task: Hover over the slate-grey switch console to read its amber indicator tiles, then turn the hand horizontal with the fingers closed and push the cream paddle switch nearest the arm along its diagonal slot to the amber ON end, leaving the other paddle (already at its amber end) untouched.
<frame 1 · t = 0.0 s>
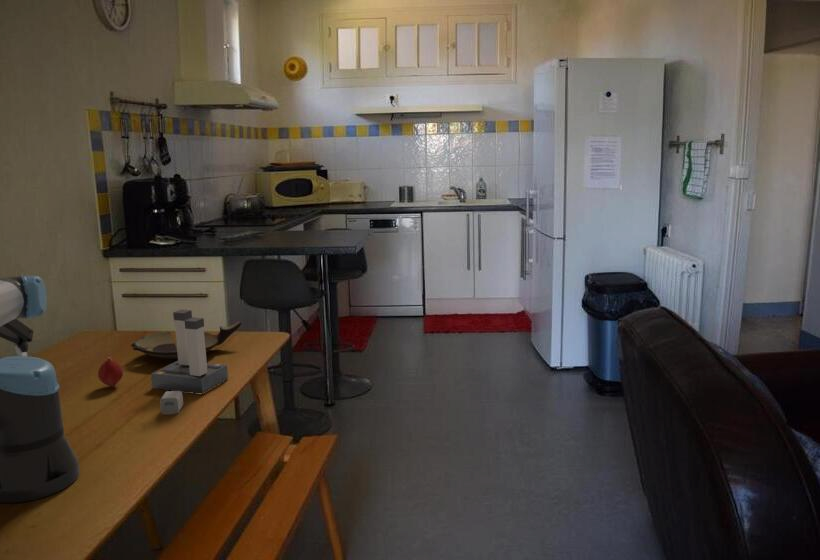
near paddle: (196, 346, 167), point 11 cm above the table, slide at 0.0 cm
far paddle: (184, 337, 175), point 11 cm above the table, slide at 8.0 cm
onion: (112, 387, 172), on the table
broken bowl: (188, 356, 197), on the table
console: (190, 384, 173), on the table
usb wall charger: (174, 409, 158), on the table
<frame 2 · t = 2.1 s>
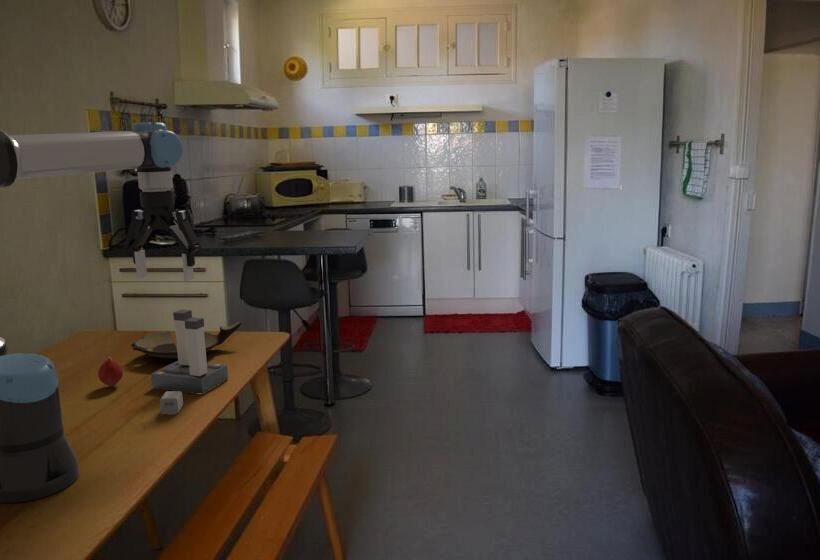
hand: (165, 278, 162), 29 cm above the table, tool pointing down, fingers open, 13 cm apart
nothing on the table moved.
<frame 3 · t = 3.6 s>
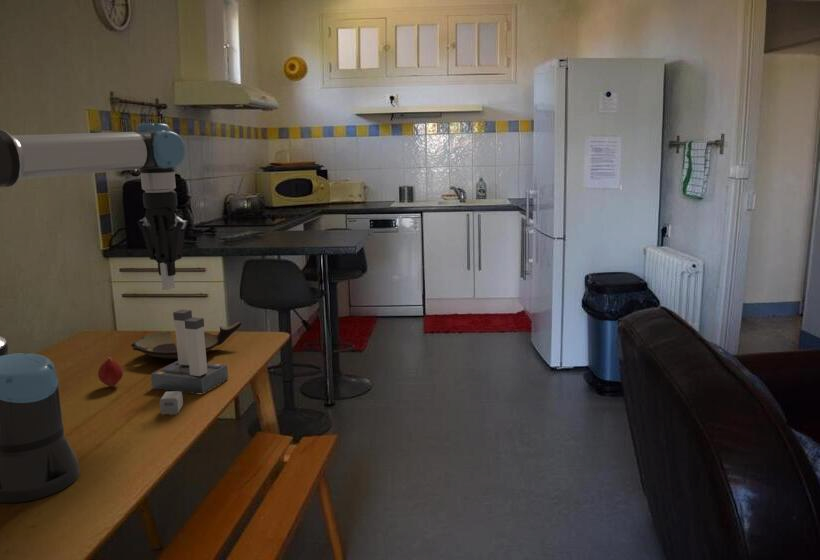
hand: (168, 288, 163), 26 cm above the table, tool pointing down, fingers closed
nothing on the table moved.
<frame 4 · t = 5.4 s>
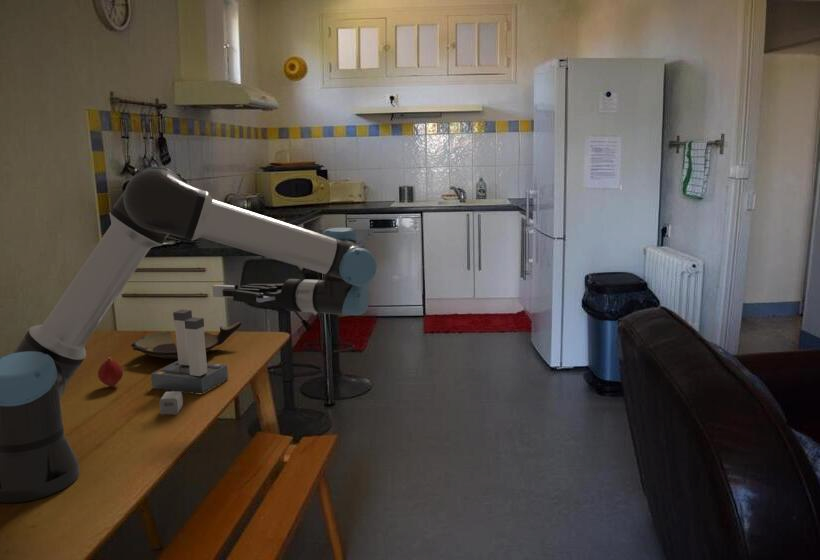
hand: (214, 290, 161), 26 cm above the table, tool horizontal, fingers closed
nothing on the table moved.
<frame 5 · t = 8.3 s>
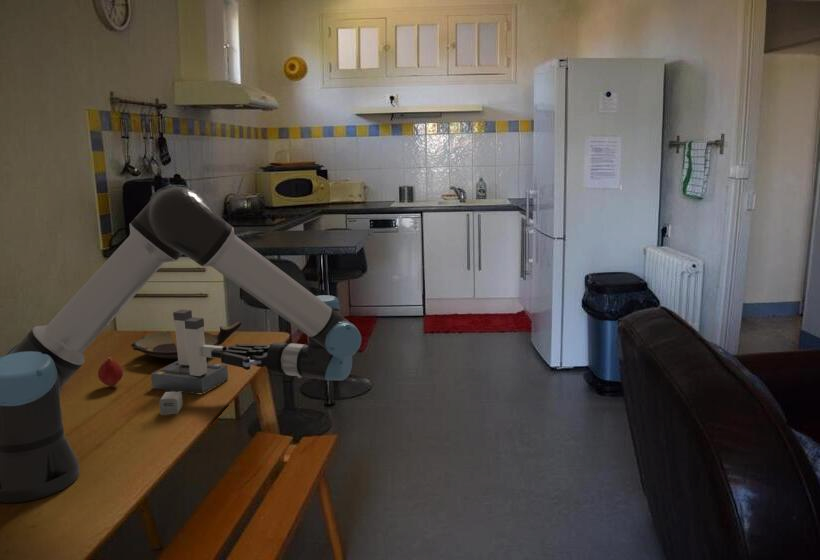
hand: (203, 350, 167), 10 cm above the table, tool horizontal, fingers closed
near paddle: (196, 346, 167), point 11 cm above the table, slide at 0.0 cm, touching gripper
everything else where it was.
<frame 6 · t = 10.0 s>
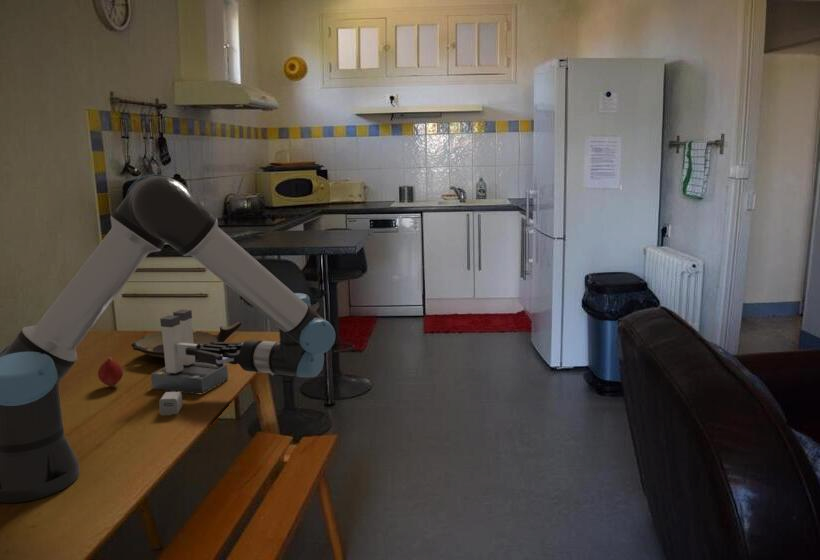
hand: (178, 348, 168), 10 cm above the table, tool horizontal, fingers closed
near paddle: (172, 344, 169), point 11 cm above the table, slide at 7.2 cm, touching gripper
everything else where it was.
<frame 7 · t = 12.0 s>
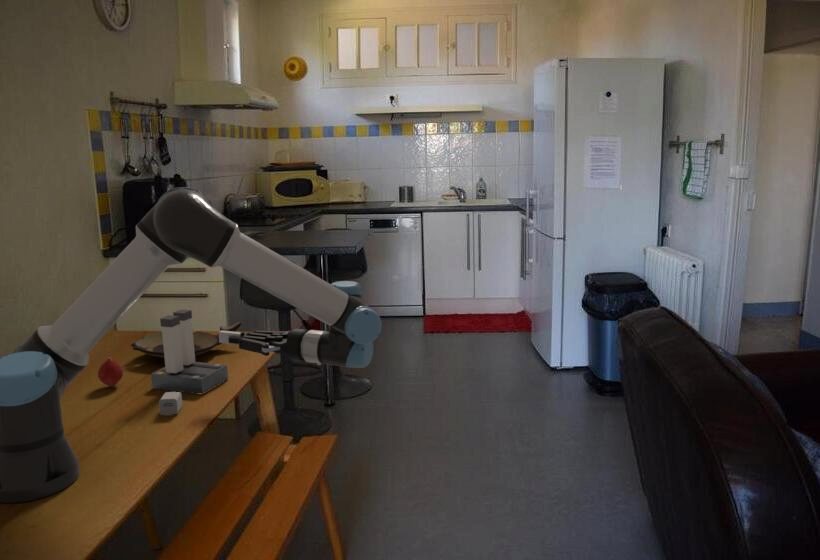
hand: (220, 336, 164), 15 cm above the table, tool horizontal, fingers closed
near paddle: (172, 344, 169), point 11 cm above the table, slide at 7.2 cm
everything else where it was.
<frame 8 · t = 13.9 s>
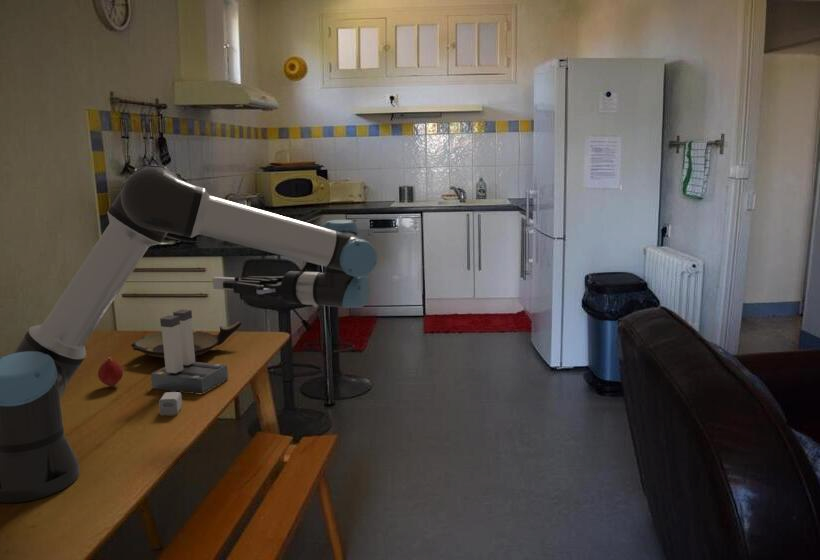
hand: (215, 282, 161), 28 cm above the table, tool horizontal, fingers closed
nothing on the table moved.
at the end: near paddle slide at 7.2 cm; far paddle slide at 8.0 cm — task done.
